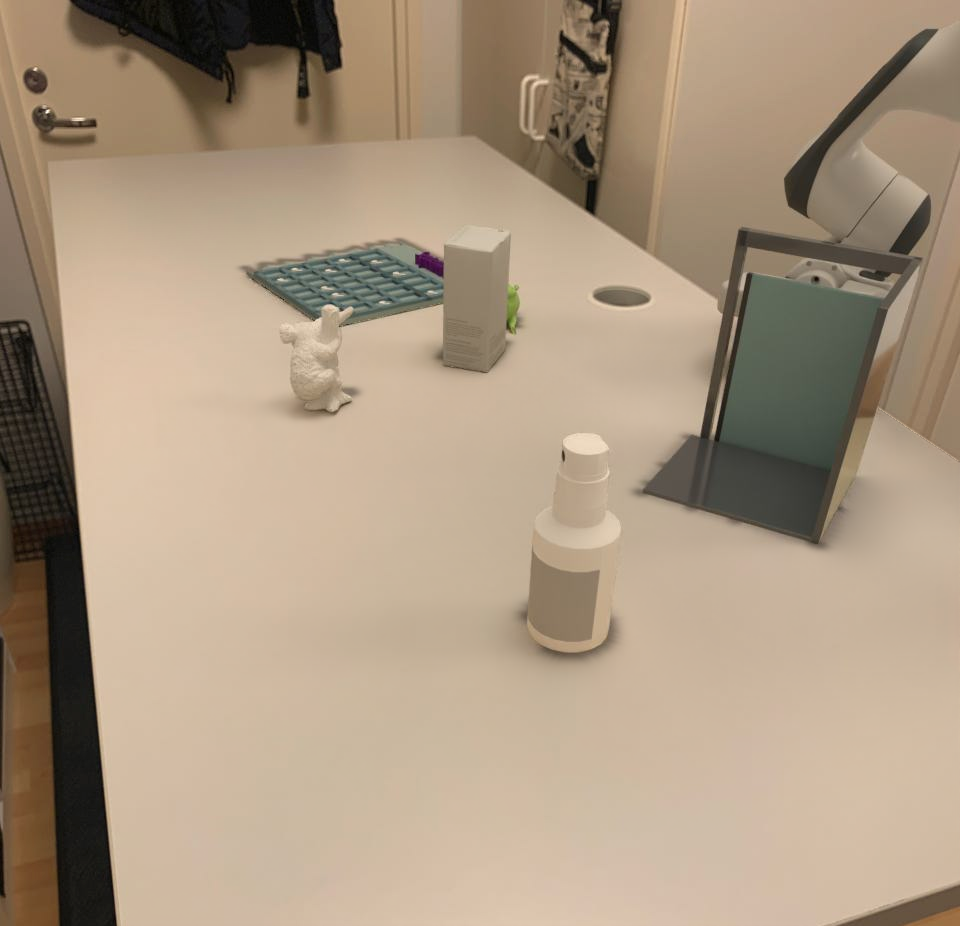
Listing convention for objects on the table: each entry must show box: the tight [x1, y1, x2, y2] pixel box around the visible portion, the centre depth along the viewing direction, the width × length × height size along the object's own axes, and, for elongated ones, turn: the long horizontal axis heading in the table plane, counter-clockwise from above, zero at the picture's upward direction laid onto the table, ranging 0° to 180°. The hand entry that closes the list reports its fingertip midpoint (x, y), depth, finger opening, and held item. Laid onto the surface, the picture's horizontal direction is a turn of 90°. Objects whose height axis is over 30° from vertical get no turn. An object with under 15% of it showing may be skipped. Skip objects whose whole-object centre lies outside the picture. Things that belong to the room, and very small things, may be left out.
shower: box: [642, 226, 924, 545], centre depth 91 cm, size 18×16×24 cm
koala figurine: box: [279, 304, 354, 413], centre depth 109 cm, size 8×7×12 cm
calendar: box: [245, 241, 444, 327], centre depth 145 cm, size 27×28×2 cm
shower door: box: [713, 271, 885, 471], centre depth 99 cm, size 14×6×19 cm, turn 60°
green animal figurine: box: [506, 283, 521, 334], centre depth 132 cm, size 6×5×6 cm
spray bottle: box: [526, 432, 623, 653], centre depth 74 cm, size 7×7×18 cm
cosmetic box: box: [442, 224, 512, 373], centre depth 119 cm, size 8×7×16 cm
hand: (786, 327), depth 108 cm, fingers open, 8 cm apart
